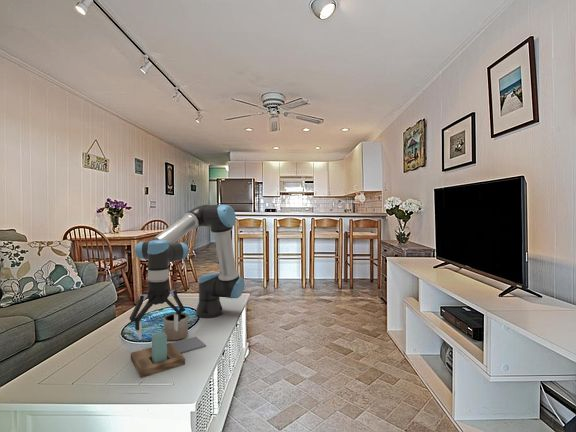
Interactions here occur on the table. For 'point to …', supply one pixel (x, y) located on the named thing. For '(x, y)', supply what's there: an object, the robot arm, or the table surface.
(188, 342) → the rubber mat
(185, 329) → the planter
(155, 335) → the teal block
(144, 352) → the pocket board
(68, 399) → the table surface
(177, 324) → the robot arm
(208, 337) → the table surface
